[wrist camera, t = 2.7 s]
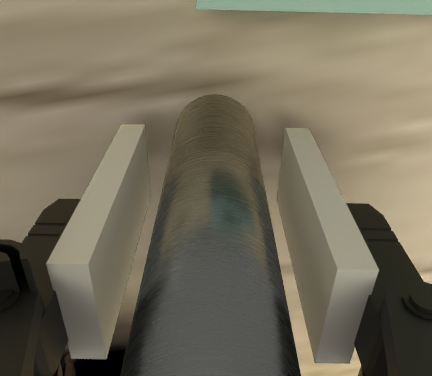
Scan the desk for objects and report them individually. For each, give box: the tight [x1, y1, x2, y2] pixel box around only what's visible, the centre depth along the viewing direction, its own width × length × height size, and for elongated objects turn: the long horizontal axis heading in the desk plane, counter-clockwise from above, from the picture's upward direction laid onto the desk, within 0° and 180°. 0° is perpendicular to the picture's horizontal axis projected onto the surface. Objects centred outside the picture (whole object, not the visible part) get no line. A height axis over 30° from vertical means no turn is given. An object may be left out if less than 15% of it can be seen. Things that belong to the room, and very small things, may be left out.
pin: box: [120, 95, 301, 376], centre depth 11 cm, size 3×3×12 cm
